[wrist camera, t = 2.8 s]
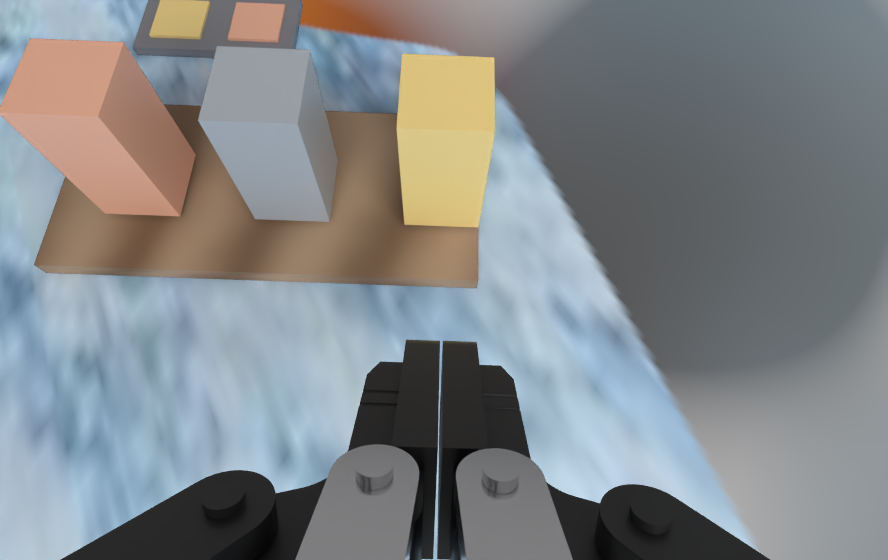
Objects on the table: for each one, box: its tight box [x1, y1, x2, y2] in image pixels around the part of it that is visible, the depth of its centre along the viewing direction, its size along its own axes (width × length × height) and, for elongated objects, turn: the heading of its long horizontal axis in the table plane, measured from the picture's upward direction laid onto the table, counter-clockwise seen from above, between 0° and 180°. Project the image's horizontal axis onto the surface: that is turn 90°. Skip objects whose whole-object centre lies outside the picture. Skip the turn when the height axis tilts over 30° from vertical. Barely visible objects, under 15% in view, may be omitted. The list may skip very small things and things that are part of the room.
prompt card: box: [133, 0, 303, 58], centre depth 36 cm, size 10×5×1 cm, turn 88°
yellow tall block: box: [397, 54, 495, 227], centre depth 27 cm, size 4×4×8 cm
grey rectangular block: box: [198, 46, 338, 222], centre depth 27 cm, size 4×4×8 cm
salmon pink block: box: [0, 38, 196, 216], centre depth 27 cm, size 4×4×8 cm
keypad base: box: [34, 105, 478, 288], centre depth 31 cm, size 23×11×1 cm, turn 88°
